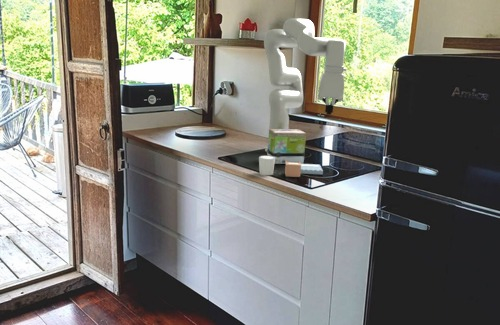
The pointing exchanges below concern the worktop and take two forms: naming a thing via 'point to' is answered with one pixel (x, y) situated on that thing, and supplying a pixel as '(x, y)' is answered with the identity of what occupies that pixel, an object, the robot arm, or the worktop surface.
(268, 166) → the shot glass
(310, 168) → the blue microchip card
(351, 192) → the worktop surface
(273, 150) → the tea box
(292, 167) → the cardboard box
